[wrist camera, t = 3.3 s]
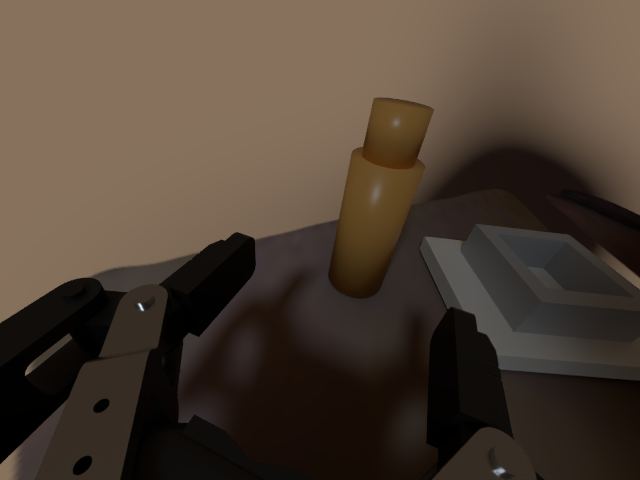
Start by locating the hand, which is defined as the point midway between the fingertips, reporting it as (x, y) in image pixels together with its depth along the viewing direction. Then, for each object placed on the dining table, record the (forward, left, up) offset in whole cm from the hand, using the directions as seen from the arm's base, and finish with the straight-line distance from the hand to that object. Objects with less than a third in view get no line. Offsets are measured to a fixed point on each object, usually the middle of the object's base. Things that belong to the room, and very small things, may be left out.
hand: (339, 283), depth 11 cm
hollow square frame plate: (-17, -7, -7) cm, 20 cm away
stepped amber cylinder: (-3, -8, -7) cm, 11 cm away
